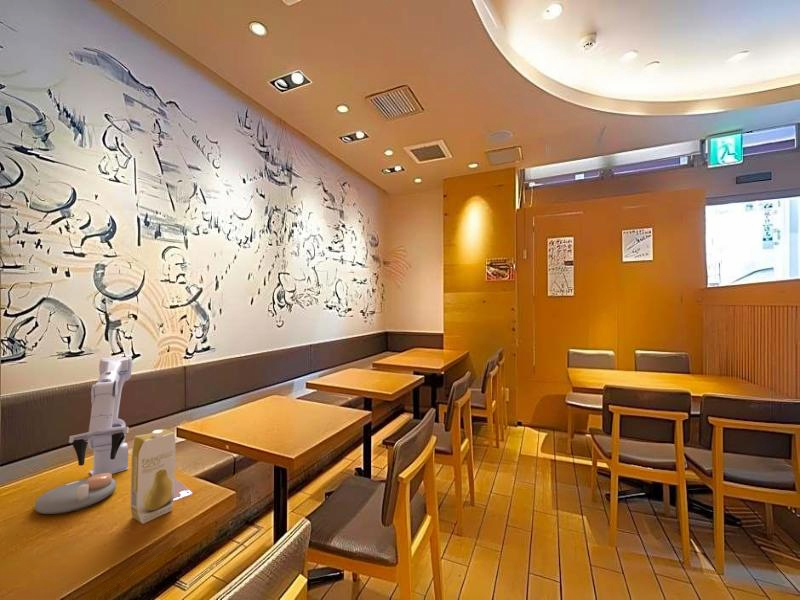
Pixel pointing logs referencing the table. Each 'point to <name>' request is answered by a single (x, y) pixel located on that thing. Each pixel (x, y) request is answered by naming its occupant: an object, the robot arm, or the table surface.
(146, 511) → the juice carton
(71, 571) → the table surface
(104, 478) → the pink rounded disc
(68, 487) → the turntable
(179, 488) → the mobile phone
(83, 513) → the table surface
